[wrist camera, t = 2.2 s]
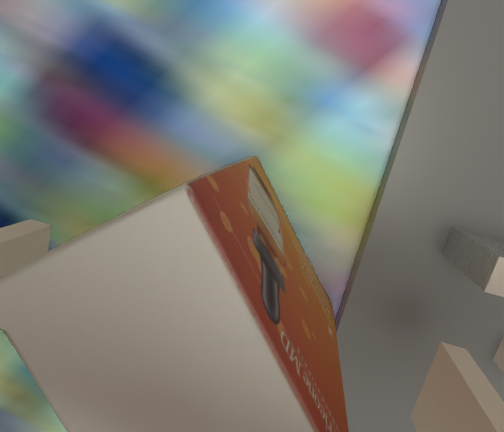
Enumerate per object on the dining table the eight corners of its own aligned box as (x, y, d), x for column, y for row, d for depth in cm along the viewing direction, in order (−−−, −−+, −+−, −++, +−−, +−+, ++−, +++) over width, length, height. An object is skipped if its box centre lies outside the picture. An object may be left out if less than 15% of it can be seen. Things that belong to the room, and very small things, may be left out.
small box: (334, 305, 18) (369, 523, 8) (229, 347, 20) (146, 582, 9) (257, 150, 17) (188, 176, 7) (152, 204, 19) (-36, 292, 8)
